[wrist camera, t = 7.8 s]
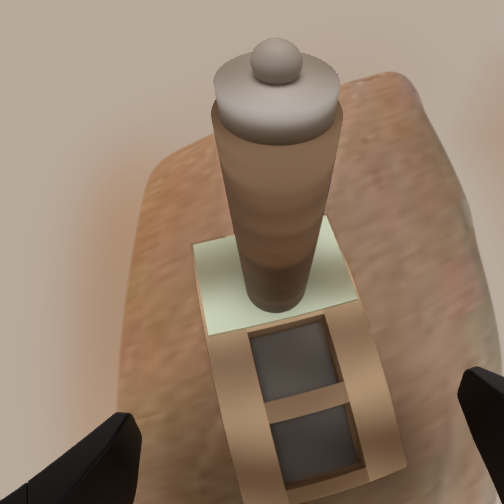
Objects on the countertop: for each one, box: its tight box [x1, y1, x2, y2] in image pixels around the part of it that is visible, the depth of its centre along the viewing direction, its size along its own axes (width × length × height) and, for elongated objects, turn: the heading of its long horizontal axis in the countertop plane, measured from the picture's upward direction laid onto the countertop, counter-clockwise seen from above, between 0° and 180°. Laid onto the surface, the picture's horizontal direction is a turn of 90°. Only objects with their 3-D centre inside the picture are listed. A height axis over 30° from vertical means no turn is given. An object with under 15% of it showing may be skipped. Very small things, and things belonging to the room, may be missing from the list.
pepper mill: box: [211, 38, 343, 313], centre depth 12 cm, size 3×3×14 cm
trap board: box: [190, 214, 408, 504], centre depth 17 cm, size 16×9×2 cm, turn 13°
